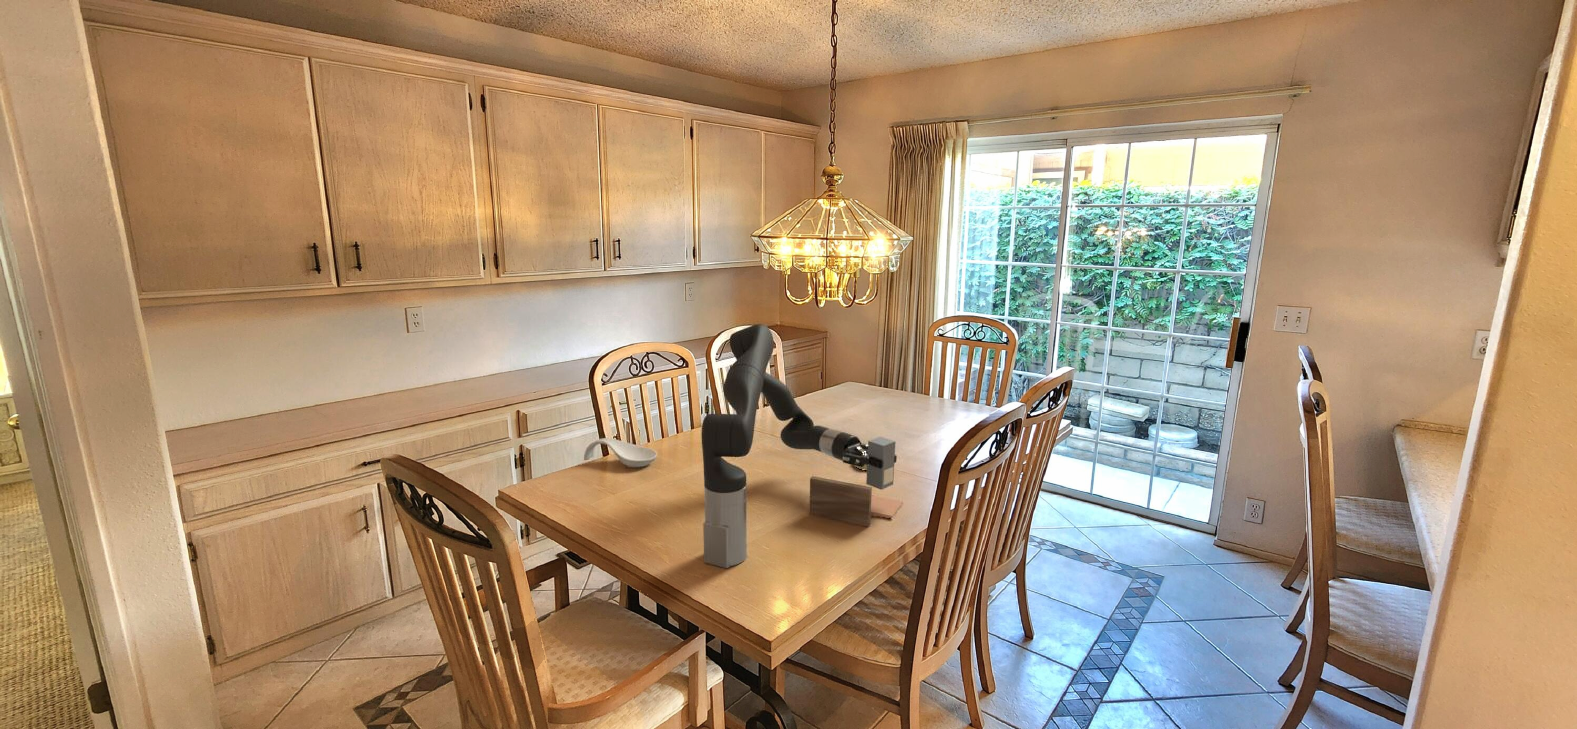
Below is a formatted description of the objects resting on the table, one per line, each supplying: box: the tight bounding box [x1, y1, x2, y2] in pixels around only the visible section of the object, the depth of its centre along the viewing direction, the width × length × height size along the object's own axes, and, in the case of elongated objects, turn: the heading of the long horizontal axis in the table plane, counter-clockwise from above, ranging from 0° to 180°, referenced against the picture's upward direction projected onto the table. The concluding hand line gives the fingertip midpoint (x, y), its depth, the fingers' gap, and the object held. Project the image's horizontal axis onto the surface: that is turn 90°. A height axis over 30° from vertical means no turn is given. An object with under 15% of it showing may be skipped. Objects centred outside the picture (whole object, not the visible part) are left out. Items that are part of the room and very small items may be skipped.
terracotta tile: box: [871, 494, 904, 519], centre depth 170 cm, size 10×10×1 cm
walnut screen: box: [808, 475, 873, 528], centre depth 163 cm, size 2×16×10 cm, turn 64°
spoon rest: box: [583, 437, 658, 469], centre depth 201 cm, size 24×12×7 cm, turn 76°
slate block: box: [865, 436, 896, 491], centre depth 168 cm, size 5×5×12 cm
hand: (889, 461), depth 166 cm, fingers closed on slate block, 5 cm apart
